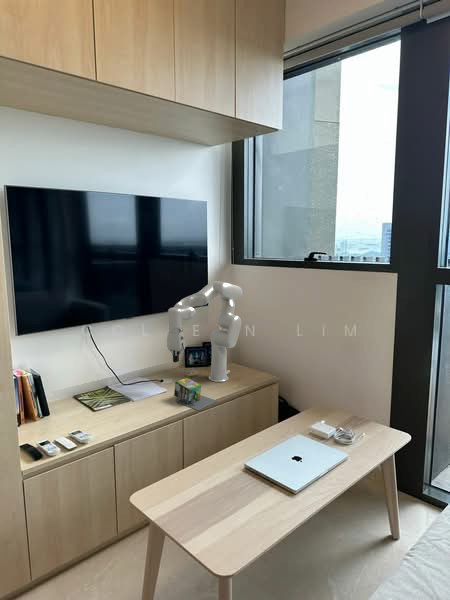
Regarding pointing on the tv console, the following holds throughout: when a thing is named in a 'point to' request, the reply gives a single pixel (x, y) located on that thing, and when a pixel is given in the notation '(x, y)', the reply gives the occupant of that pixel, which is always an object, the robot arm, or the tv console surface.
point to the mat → (198, 403)
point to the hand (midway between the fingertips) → (176, 361)
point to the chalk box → (187, 390)
